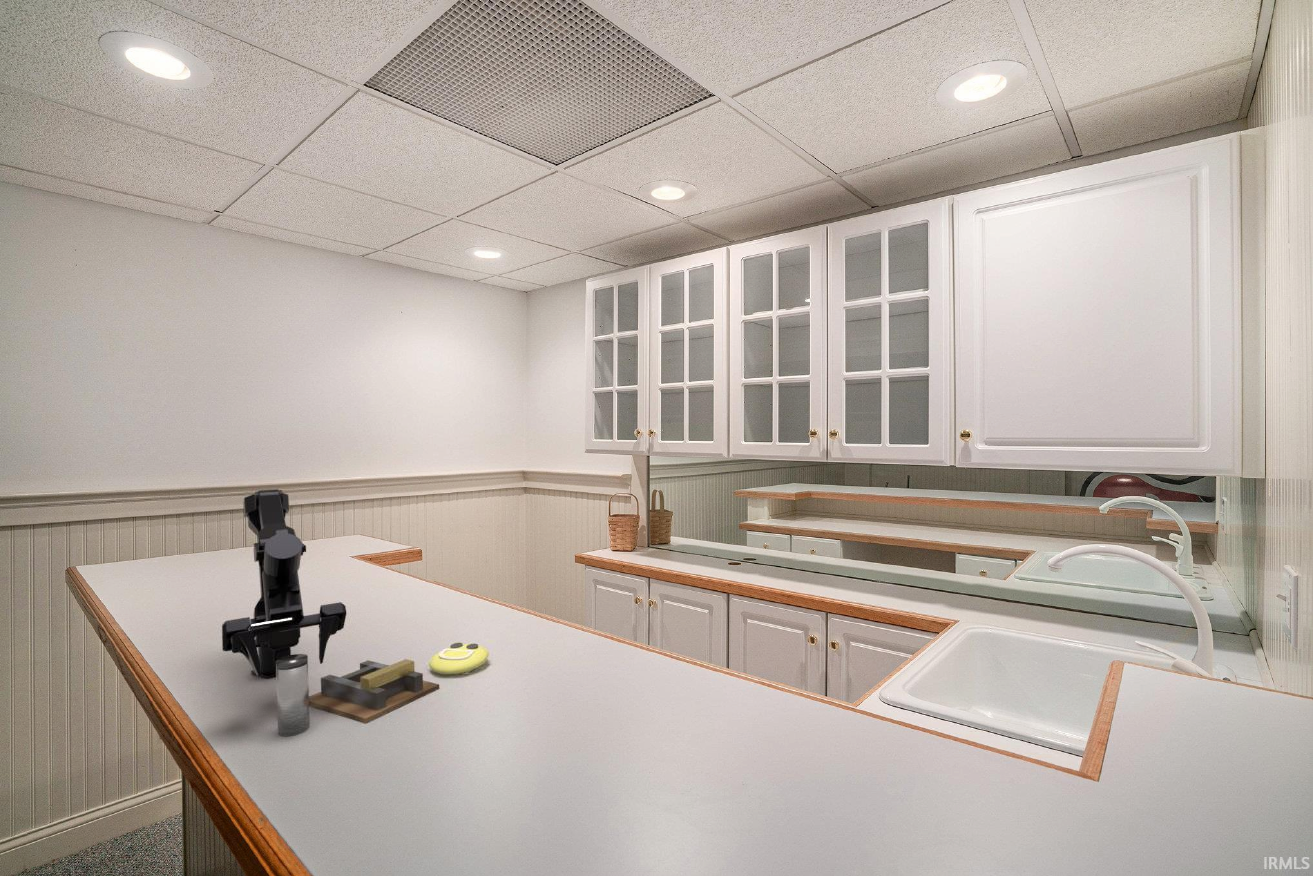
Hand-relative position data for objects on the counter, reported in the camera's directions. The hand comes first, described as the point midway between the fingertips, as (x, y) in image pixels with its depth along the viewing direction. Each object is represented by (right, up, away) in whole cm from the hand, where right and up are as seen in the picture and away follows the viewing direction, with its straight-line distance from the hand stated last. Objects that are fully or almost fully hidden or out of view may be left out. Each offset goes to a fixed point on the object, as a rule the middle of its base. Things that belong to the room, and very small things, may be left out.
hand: (291, 669), depth 106 cm
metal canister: (+1, -10, -1) cm, 10 cm away
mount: (+8, -10, +12) cm, 18 cm away
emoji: (+20, -10, +26) cm, 34 cm away
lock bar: (+12, -6, +10) cm, 17 cm away
